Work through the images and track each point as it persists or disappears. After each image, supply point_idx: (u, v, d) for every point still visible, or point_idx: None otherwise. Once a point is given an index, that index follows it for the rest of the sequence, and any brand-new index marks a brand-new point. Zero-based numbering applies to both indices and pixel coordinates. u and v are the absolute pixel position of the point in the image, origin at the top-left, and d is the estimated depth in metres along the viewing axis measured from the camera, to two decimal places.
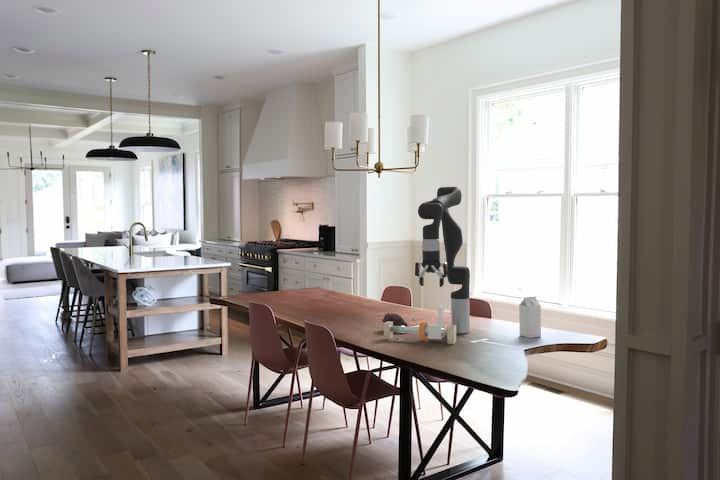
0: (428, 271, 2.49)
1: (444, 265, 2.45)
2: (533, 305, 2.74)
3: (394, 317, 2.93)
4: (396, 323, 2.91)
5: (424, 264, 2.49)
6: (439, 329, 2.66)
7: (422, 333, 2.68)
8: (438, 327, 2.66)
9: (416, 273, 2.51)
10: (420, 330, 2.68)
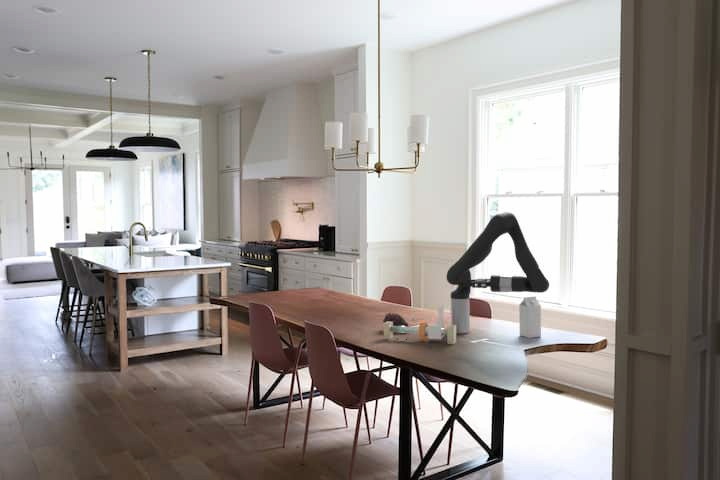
0: None
1: None
2: (533, 305, 2.74)
3: (395, 317, 2.93)
4: (397, 323, 2.91)
5: (485, 286, 2.57)
6: (439, 329, 2.66)
7: (422, 333, 2.68)
8: (438, 327, 2.66)
9: (474, 287, 2.55)
10: (420, 330, 2.68)
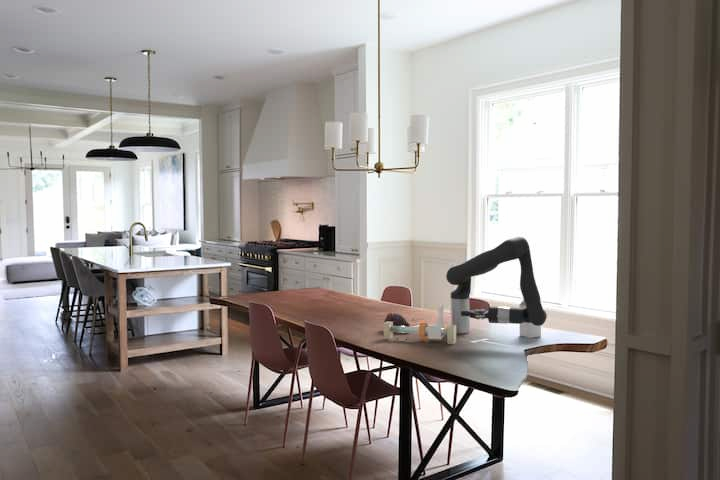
0: None
1: None
2: None
3: (396, 317, 2.92)
4: (398, 323, 2.91)
5: None
6: (439, 329, 2.66)
7: (422, 333, 2.68)
8: (438, 327, 2.66)
9: None
10: (420, 330, 2.68)
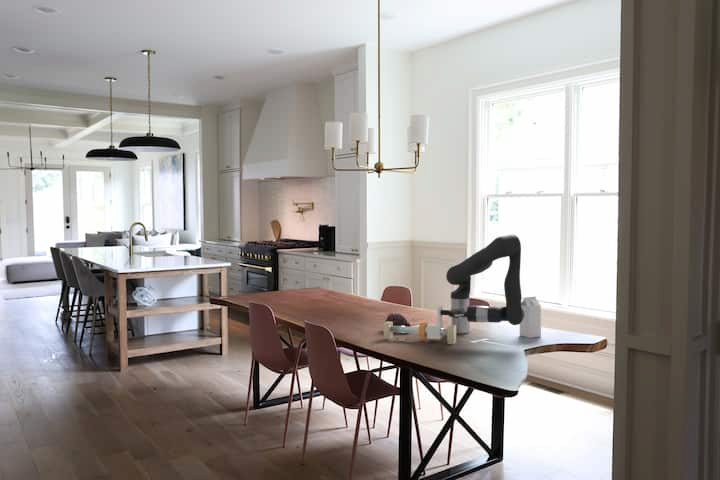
0: None
1: None
2: (533, 305, 2.74)
3: (397, 317, 2.92)
4: (399, 323, 2.90)
5: None
6: (438, 329, 2.66)
7: (422, 333, 2.68)
8: (437, 327, 2.66)
9: None
10: (420, 330, 2.68)
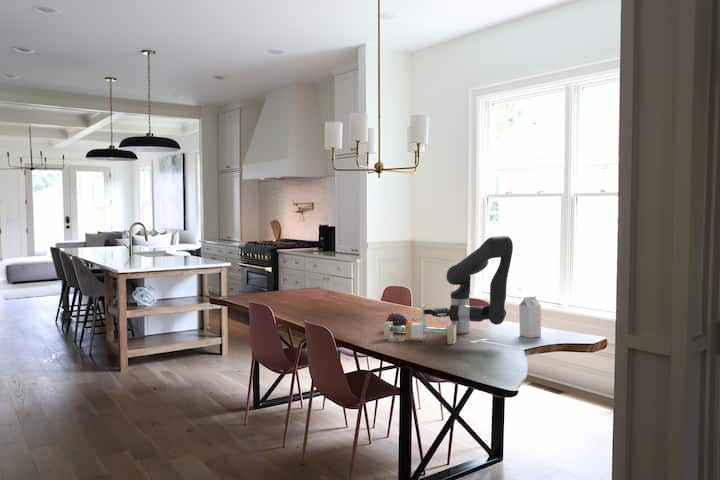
0: None
1: None
2: (533, 305, 2.74)
3: (397, 317, 2.92)
4: (399, 323, 2.90)
5: None
6: (421, 328, 2.69)
7: (408, 332, 2.70)
8: (420, 326, 2.69)
9: (434, 315, 2.67)
10: (406, 329, 2.71)
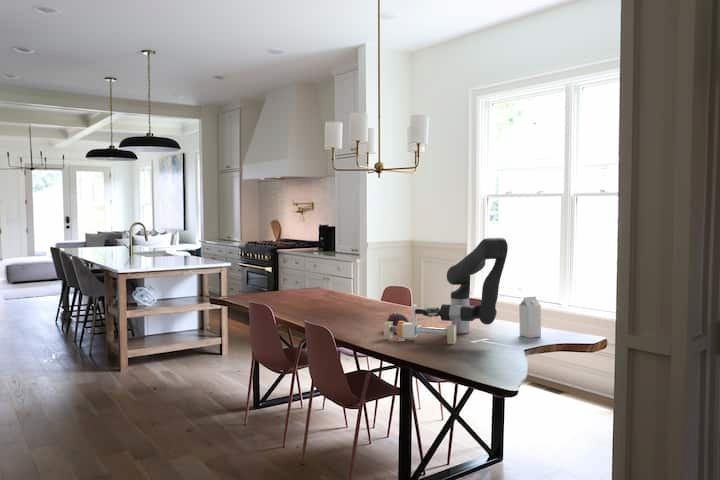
0: None
1: None
2: (533, 305, 2.74)
3: (398, 317, 2.92)
4: None
5: None
6: (413, 328, 2.70)
7: (400, 332, 2.72)
8: (412, 326, 2.70)
9: None
10: (398, 329, 2.72)
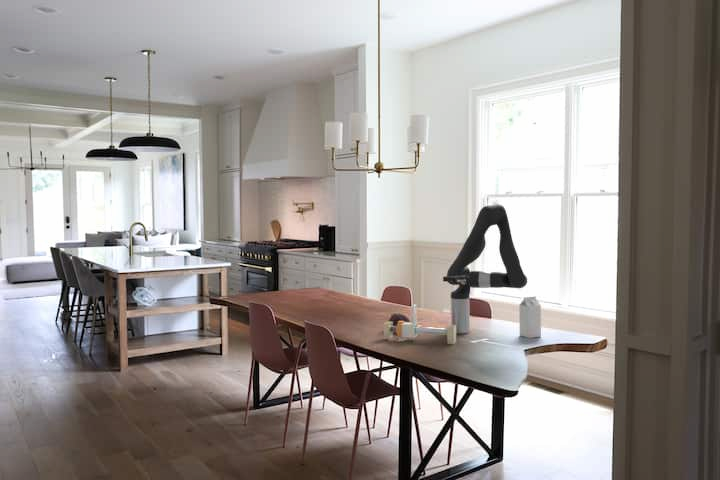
0: None
1: None
2: (533, 305, 2.74)
3: (399, 317, 2.91)
4: None
5: (462, 282, 2.61)
6: (412, 328, 2.70)
7: (399, 332, 2.72)
8: (411, 326, 2.70)
9: None
10: (398, 329, 2.72)
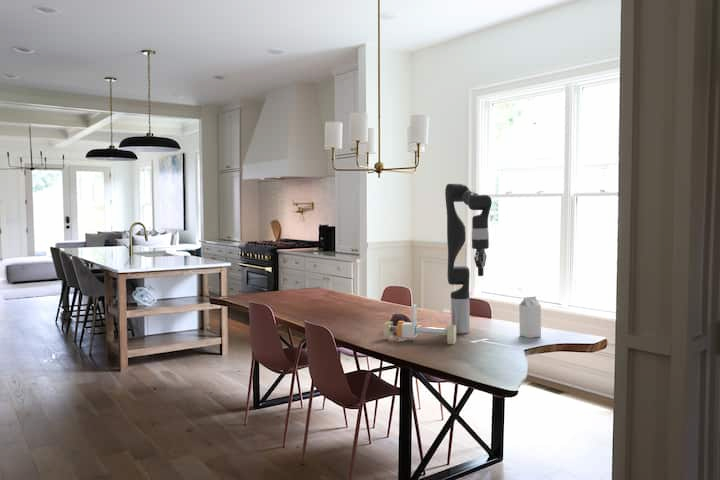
0: None
1: (486, 256, 2.68)
2: (533, 305, 2.74)
3: (400, 317, 2.91)
4: None
5: (481, 255, 2.61)
6: (412, 328, 2.70)
7: (399, 332, 2.72)
8: (411, 326, 2.70)
9: (481, 264, 2.61)
10: (398, 329, 2.72)
